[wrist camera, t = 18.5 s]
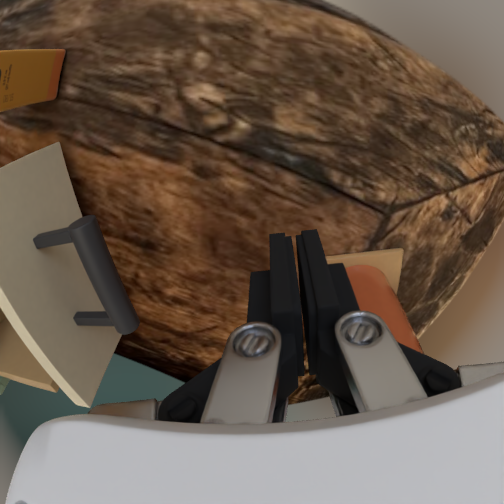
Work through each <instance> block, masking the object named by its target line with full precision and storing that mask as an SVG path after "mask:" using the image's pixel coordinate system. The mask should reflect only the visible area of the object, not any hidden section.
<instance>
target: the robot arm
mask: <svg viewBox="0 0 504 504" xmlns="http://www.w3.org/2000/svg"><path fill="white" fill-rule="evenodd" d="M269 238H270V270H268V271H258V272H251V275H250V288H249V302H248V315H247V323H246V324H243V325H241V326H239V327H237V328H236V329H235V330H234V331H233V332H232V333H231V334H230V336H229V338H228V339H227V342H226V345H225V349H224V352H223V355H222V358H220V359H219V360H217V361H216V362H215V363H213V364H212V365H211V366H209V367H208V368H206V369H205V370H204V371H202V372H201V373H199V374H198V375H197V376H195V377H194V378H192V379H191V380H190V381H188V382H187V383H185V384H184V385H182V386H181V387H179V388H178V389H177V390H175V391H174V392H172V393H171V394H169V395H168V396H167V397H166V398H165V399H164V400H163V401H157V400H156V399H147V400H140V401H130V402H121V403H109V404H101V405H97V406H95V407H94V408H92V409H91V410H90V411H89V412H88V414H80V415H71V416H65V417H60V418H56V419H53V420H50V421H47V422H45V423H43V424H42V425H40V426H39V427H38V428H37V429H36V430H35V431H34V432H33V434H32V435H31V436H30V438H29V440H28V442H27V443H26V445H25V448H24V450H23V452H22V454H21V456H20V459H19V461H18V464H17V466H16V469H15V472H14V475H13V478H12V481H11V484H10V487H9V491H8V495H7V499H6V503H5V504H504V362H498V363H488V364H478V365H465V366H458V368H457V369H456V370H453V369H452V368H451V367H449V366H448V365H446V364H444V363H442V362H439V361H437V360H435V359H433V358H431V357H429V356H427V355H424V354H422V353H420V352H418V351H416V350H414V349H412V348H410V347H407V346H405V345H403V344H401V343H399V342H397V341H396V339H395V338H394V336H393V334H392V333H391V331H390V329H389V328H388V326H387V324H386V323H385V322H384V320H383V319H382V318H381V317H380V316H378V315H376V314H375V313H372V312H369V311H361V310H360V308H359V305H358V302H357V299H356V297H355V294H354V291H353V288H352V285H351V283H350V280H349V277H348V274H347V272H346V269H345V266H344V264H343V263H334V264H328V263H327V260H326V257H325V254H324V251H323V247H322V244H321V241H320V238H319V235H318V232H317V229H315V230H305V231H301V235H296V245H297V258H298V271H299V286H300V293H299V286H298V279H297V272H296V265H295V258H294V252H293V245H292V239H291V236H286V237H285V233H276V234H269ZM300 300H301V301H300ZM301 308H302V310H301ZM302 316H303V324H304V332H305V340H306V349H307V357H308V366H309V375H316V382H317V384H318V383H319V385H321V386H322V387H324V388H325V389H327V390H329V394H330V399H331V402H332V405H333V408H334V411H335V414H336V417H332V418H325V419H316V420H307V421H297V422H285V421H286V414H287V407H288V396H289V395H290V394H291V393H293V392H294V391H295V390H296V389H297V388H298V376H304V350H303V327H302Z"/></svg>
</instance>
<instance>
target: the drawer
mask: <svg viewBox="0 0 504 504" xmlns="http://www.w3.org/2000/svg"><path fill="white" fill-rule="evenodd" d="M139 324H140V320H139V318H138V316H137V314H136V312H135V309H134V307H133V305H132V303H131V301H130V299H129V297H128V295H127V292H126V290H125V288H124V286H123V284H122V281H121V279H120V277H119V274H118V272H117V270H116V267H115V265H114V263H113V260H112V258H111V255H110V253H109V250H108V248H107V245H106V243H105V240H104V238H103V235H102V232H101V230H100V227H99V224H98V221H97V219H96V216H95V215H88V216H84V217H82V214H81V211H80V208H79V205H78V202H77V199H76V197H75V193H74V190H73V187H72V184H71V181H70V178H69V174H68V171H67V168H66V164H65V161H64V157H63V153H62V149H61V146H60V142H57V143H55V144H52V145H50V146H47V147H45V148H42V149H40V150H38V151H35V152H33V153H31V154H29V155H26V156H24V157H22V158H20V159H18V160H16V161H14V162H12V163H10V164H8V165H6V166H4V167H2V168H0V376H3V377H6V378H8V379H11V380H15V381H18V382H21V383H25V384H27V385H31V386H34V387H38V388H41V389H45V390H49V391H53V392H57V391H58V389H59V387H60V388H61V389H62V390H63V391H64V392H65V393H66V395H67V396H68V397H70V399H71V400H72V401H73V402H74V403H75V404H76V405H79V406H84V407H88V408H90V407H91V404H92V402H93V399H94V397H95V394H96V392H97V390H98V387H99V385H100V382H101V380H102V378H103V375H104V373H105V371H106V369H107V366H108V364H109V362H110V359H111V357H112V355H113V353H114V351H115V348H116V346H117V344H118V342H119V340H120V338H121V336H122V334H129V333H132V332H133V331H135V330H136V329H137V328H138V326H139Z"/></svg>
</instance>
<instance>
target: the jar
mask: <svg viewBox="0 0 504 504" xmlns="http://www.w3.org/2000/svg"><path fill="white" fill-rule="evenodd" d="M345 269H346V272H347V274H348V277H349V280H350V283H351V285H352V288H353V291H354V294H355V297H356V299H357V302H358V305H359V308H360V310H361V311H369V312H372V313H375V314H376V315H378V316H380V317H381V318H382V319H383V320H384V322H385V323H386V324H387V326H388V328H389V329H390V331H391V333H392V334H393V336H394V338H395V339H396V341H397V342H399V343H401V344H403V345H405V346H407V347H410V348H412V349H414V350H416V351H418V352H420V353H422V354H424V353H423V350H422V348H421V346H420V343H419V341H418V339H417V337H416V335H415V332H414V330H413V328H412V326H411V324H410V322H409V320H408V318H407V316H406V314H405V311H404V309H403V307H402V305H401V303H400V301H399V299H398V297H397V295H396V294H395V292H394V290H393V288H392V286H391V284H390V282H389V280H388V278H387V277H386V275H385V274H384V273H383V272H382V271H381V270H379V269H378V268H376V267H373V266H369V265H354V266H350V267H347V268H345Z"/></svg>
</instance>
